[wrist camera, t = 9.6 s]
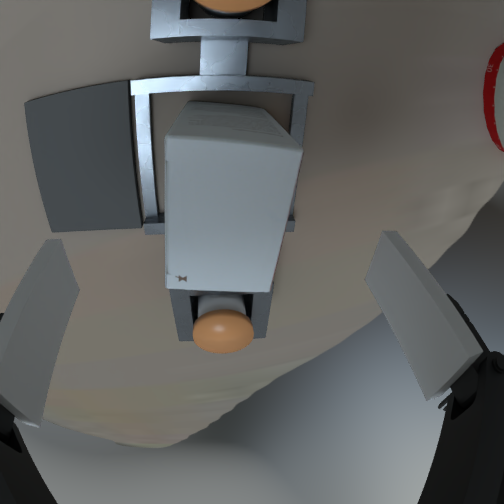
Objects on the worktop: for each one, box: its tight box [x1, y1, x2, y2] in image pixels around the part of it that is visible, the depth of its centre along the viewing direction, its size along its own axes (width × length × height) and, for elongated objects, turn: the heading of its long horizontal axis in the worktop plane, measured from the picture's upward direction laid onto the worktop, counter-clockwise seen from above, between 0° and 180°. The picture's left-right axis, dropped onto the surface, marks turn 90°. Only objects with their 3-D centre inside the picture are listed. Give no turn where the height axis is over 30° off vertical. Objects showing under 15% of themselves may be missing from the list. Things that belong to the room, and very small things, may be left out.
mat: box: [24, 80, 143, 232], centre depth 19 cm, size 9×12×1 cm
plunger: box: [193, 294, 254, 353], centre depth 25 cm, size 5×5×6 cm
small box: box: [164, 101, 304, 292], centre depth 17 cm, size 8×6×10 cm
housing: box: [131, 0, 314, 341], centre depth 19 cm, size 12×31×5 cm, turn 177°
